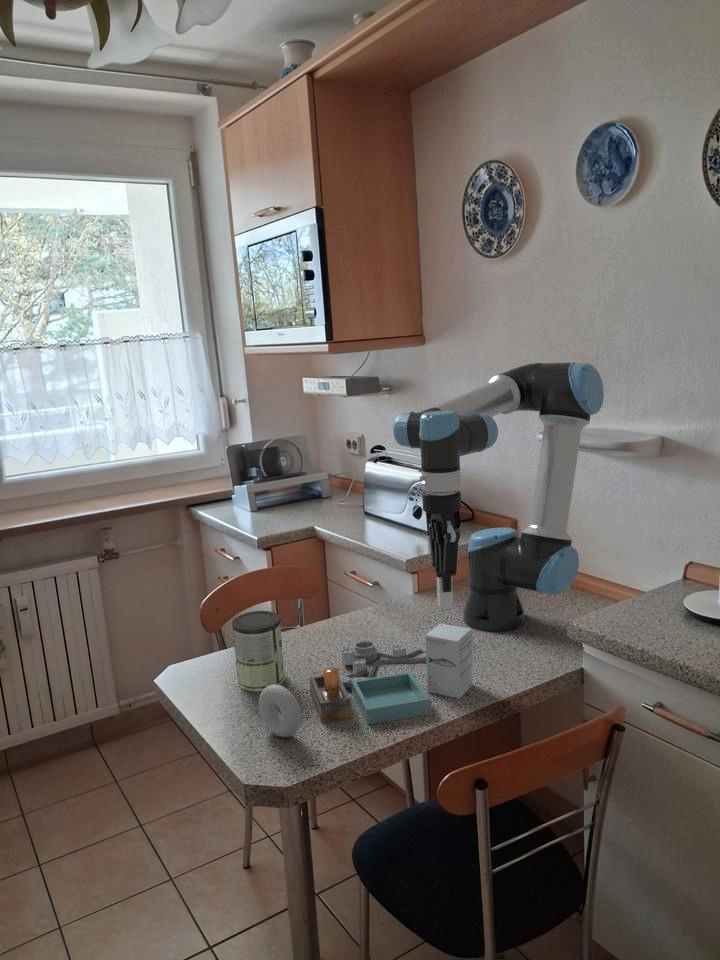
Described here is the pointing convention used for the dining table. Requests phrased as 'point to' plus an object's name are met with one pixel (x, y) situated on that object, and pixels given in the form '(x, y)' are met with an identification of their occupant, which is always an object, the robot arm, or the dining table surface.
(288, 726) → the donut
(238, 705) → the dining table surface
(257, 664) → the coffee can
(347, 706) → the base
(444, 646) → the supplement box
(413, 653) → the pulley system
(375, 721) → the tray
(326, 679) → the copper rounded cylinder
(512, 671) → the dining table surface
